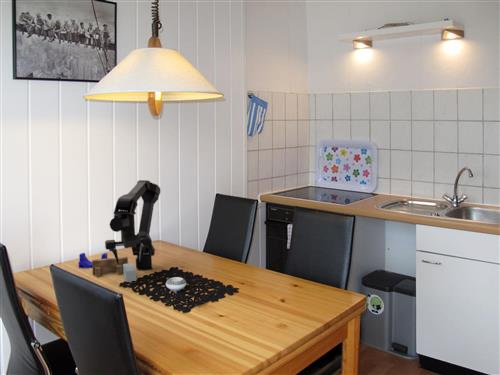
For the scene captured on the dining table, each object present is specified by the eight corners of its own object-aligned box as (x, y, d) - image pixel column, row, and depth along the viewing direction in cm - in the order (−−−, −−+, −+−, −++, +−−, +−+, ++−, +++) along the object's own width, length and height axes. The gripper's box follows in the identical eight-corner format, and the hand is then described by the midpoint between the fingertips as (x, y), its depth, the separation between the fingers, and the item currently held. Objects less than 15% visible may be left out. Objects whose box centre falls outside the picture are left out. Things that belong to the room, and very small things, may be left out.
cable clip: (78, 268, 235) (78, 255, 234) (82, 265, 239) (81, 253, 238) (104, 268, 234) (103, 255, 233) (107, 265, 238) (107, 253, 237)
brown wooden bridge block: (127, 269, 231) (127, 256, 230) (129, 273, 225) (128, 260, 224) (92, 273, 226) (92, 259, 225) (93, 277, 220) (92, 263, 219)
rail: (132, 274, 225) (132, 263, 224) (136, 282, 214) (135, 270, 213) (123, 275, 223) (122, 264, 223) (126, 283, 212) (125, 271, 212)
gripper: (106, 232, 205) (107, 270, 207) (153, 228, 211) (154, 265, 213) (104, 227, 216) (105, 263, 218) (149, 223, 222) (150, 258, 224)
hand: (129, 262), depth 218 cm, fingers open, 9 cm apart
